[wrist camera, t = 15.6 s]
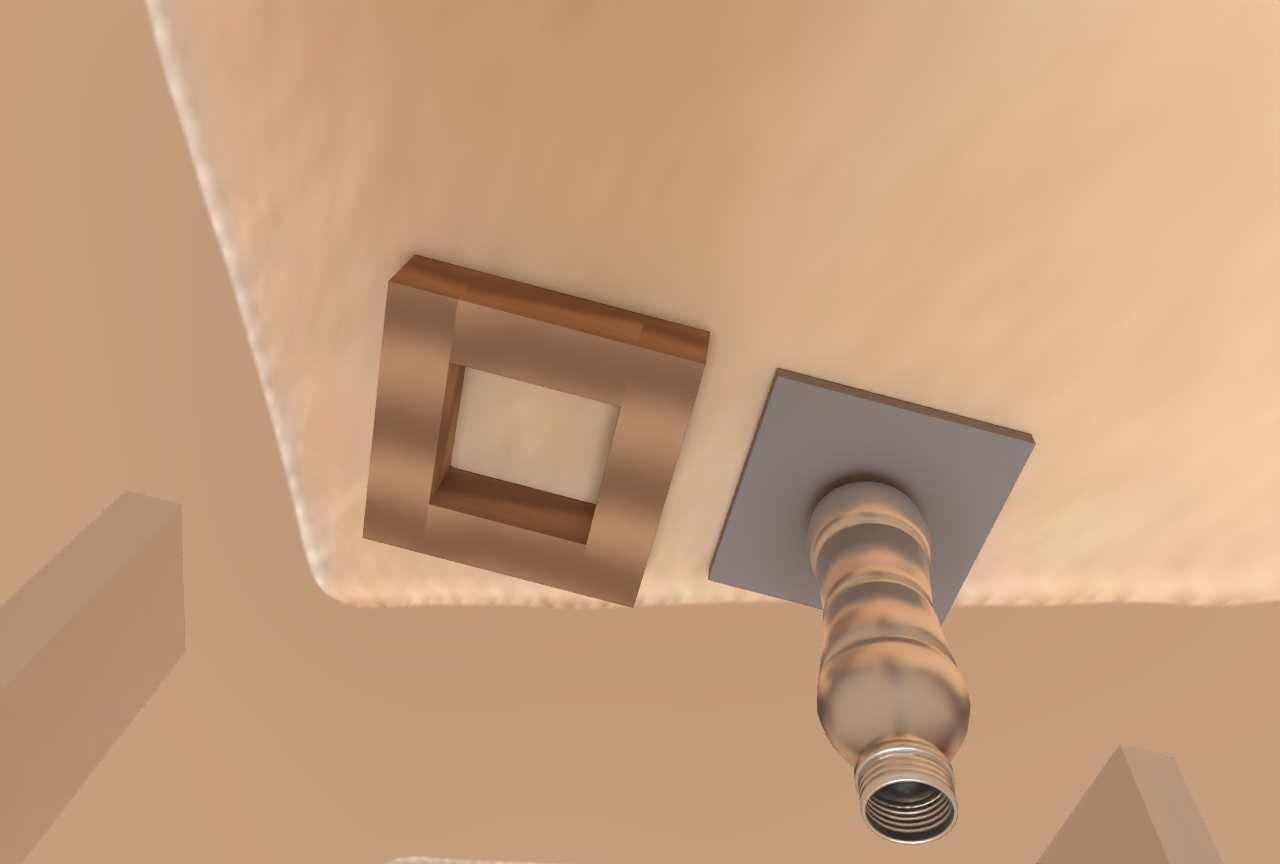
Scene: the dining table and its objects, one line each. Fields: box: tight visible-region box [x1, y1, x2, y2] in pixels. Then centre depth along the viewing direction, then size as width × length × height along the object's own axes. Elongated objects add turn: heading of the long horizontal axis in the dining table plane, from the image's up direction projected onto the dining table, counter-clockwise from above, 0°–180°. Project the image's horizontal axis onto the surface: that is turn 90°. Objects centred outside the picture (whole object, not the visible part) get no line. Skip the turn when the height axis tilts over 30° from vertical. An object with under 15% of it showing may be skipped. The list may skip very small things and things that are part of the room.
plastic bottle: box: [806, 481, 970, 845], centre depth 45 cm, size 6×7×20 cm
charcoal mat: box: [708, 368, 1035, 627], centre depth 54 cm, size 14×14×1 cm
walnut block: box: [363, 255, 710, 608], centre depth 52 cm, size 16×16×4 cm
